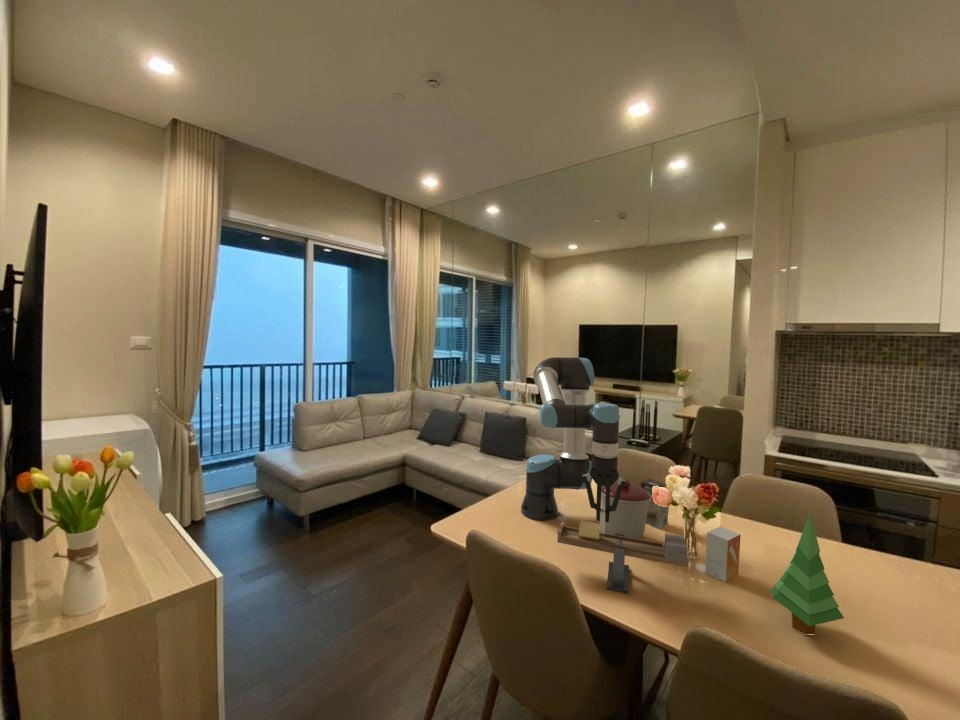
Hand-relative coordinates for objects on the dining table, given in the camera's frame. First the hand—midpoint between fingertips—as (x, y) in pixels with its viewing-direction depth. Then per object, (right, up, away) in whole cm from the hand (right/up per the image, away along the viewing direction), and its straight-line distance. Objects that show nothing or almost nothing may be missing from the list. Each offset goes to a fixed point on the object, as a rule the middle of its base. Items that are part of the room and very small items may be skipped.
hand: (602, 531), depth 122 cm
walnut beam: (+5, -4, -2) cm, 6 cm away
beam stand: (+4, -14, -1) cm, 14 cm away
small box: (+38, -14, +2) cm, 41 cm away
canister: (+15, -13, +26) cm, 33 cm away
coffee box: (+31, -13, +37) cm, 50 cm away
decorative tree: (+44, -16, -21) cm, 51 cm away
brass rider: (-4, -3, +1) cm, 5 cm away
